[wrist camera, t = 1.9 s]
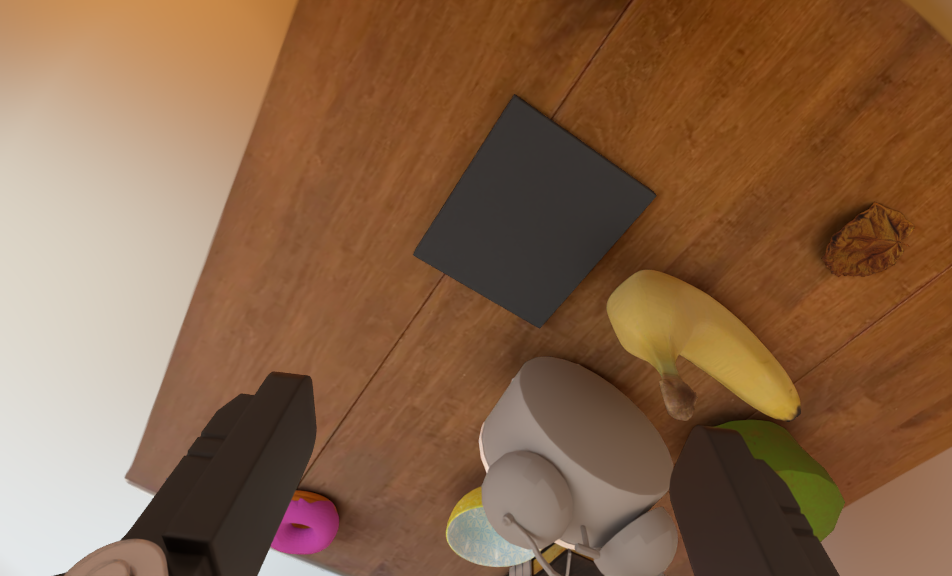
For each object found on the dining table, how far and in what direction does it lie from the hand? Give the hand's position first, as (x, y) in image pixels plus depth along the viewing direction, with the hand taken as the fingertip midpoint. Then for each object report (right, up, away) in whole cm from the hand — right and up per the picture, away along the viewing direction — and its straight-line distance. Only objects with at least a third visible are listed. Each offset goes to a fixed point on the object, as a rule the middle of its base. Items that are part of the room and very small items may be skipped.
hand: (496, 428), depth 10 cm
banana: (+19, +1, +35) cm, 40 cm away
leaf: (+32, +7, +31) cm, 45 cm away
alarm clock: (+9, -7, +40) cm, 42 cm away
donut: (-23, -26, +54) cm, 65 cm away
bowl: (+2, -23, +50) cm, 55 cm away
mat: (+4, +9, +32) cm, 33 cm away
